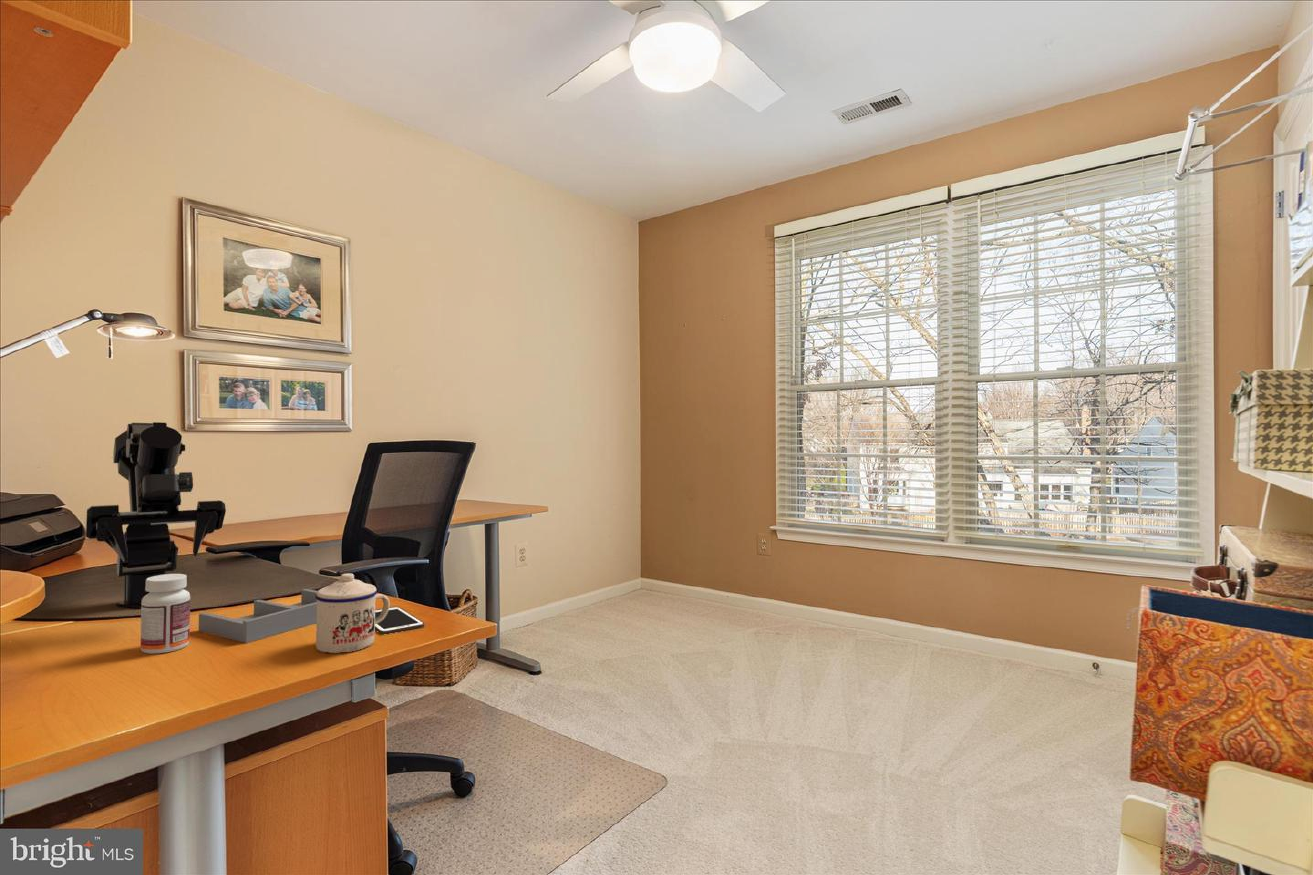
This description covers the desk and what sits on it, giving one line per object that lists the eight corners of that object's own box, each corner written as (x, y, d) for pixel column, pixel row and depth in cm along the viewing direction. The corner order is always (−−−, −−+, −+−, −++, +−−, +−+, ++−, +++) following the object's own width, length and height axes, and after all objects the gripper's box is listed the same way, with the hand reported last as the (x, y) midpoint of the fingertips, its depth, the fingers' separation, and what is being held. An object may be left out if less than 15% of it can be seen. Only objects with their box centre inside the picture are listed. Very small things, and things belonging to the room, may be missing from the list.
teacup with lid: (331, 658, 96) (333, 583, 96) (303, 646, 101) (305, 574, 101) (402, 639, 106) (404, 571, 106) (373, 628, 111) (375, 563, 111)
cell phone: (397, 610, 124) (398, 605, 124) (426, 629, 113) (426, 623, 113) (356, 617, 119) (356, 612, 119) (381, 637, 108) (381, 631, 108)
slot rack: (198, 630, 107) (198, 610, 107) (305, 603, 126) (306, 586, 126) (246, 643, 102) (246, 621, 102) (351, 612, 120) (351, 594, 120)
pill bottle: (188, 639, 103) (190, 571, 103) (190, 649, 98) (192, 578, 98) (140, 646, 99) (141, 575, 99) (139, 657, 95) (141, 583, 95)
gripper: (88, 457, 102) (88, 533, 94) (225, 456, 115) (235, 523, 107) (85, 500, 107) (85, 576, 99) (216, 495, 120) (226, 561, 112)
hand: (161, 557), depth 104 cm, fingers open, 9 cm apart
